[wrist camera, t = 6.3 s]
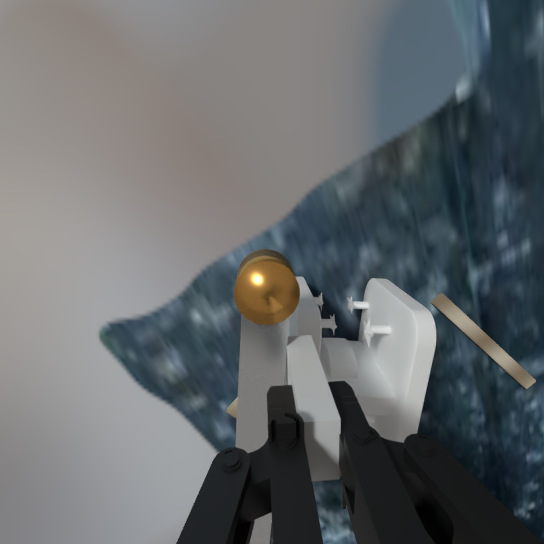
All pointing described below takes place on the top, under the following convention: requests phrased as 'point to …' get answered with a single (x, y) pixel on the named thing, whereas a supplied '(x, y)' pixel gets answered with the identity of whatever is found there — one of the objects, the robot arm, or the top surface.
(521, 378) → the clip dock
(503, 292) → the top surface
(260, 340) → the gold knob lever
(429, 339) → the cable organizer
